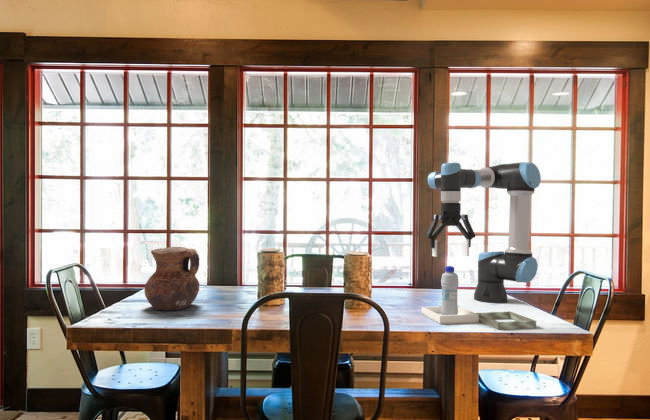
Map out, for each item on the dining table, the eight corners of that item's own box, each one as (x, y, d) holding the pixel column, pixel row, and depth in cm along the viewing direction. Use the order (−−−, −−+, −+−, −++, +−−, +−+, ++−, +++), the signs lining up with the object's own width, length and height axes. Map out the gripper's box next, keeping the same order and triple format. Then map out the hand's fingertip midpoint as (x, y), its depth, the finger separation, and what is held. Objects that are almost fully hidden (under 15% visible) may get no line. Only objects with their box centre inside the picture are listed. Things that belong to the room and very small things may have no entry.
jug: (139, 313, 180) (140, 250, 180) (148, 303, 201) (149, 246, 201) (197, 311, 185) (198, 250, 185) (200, 301, 205) (201, 246, 205)
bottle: (449, 319, 175) (450, 267, 175) (436, 315, 180) (437, 265, 180) (461, 317, 178) (462, 266, 178) (448, 314, 184) (449, 264, 184)
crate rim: (509, 317, 182) (510, 311, 182) (536, 327, 166) (536, 320, 166) (474, 319, 178) (474, 312, 178) (498, 329, 163) (498, 322, 163)
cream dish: (457, 312, 189) (457, 305, 189) (478, 322, 173) (478, 314, 173) (421, 314, 185) (421, 307, 185) (439, 324, 170) (440, 316, 170)
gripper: (474, 202, 186) (474, 254, 186) (417, 202, 180) (417, 255, 180) (484, 202, 178) (484, 256, 179) (425, 202, 173) (425, 258, 173)
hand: (450, 256), depth 179 cm, fingers open, 13 cm apart
